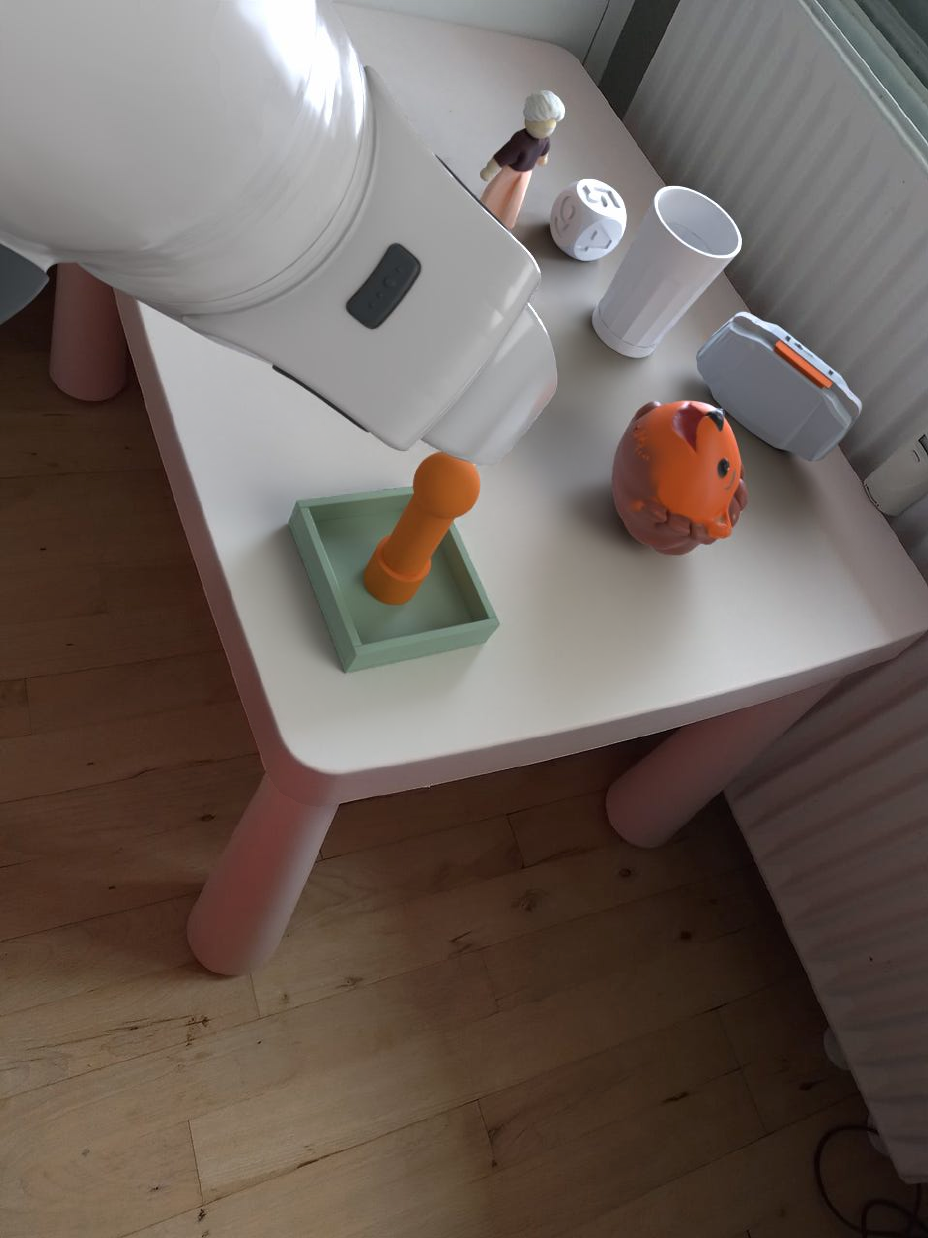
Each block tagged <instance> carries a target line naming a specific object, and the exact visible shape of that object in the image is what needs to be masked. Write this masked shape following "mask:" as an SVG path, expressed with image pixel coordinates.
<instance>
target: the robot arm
mask: <svg viewBox="0 0 928 1238" xmlns="http://www.w3.org/2000/svg"><path fill="white" fill-rule="evenodd" d="M57 264H78V266H79V267H81V268H82V269H83V270H84V271H86V272H88V273H89V274H91V275H92V276H93V277H95V278H96V279H97V280H100V281H101V282H103V283H105V284H107V285H108V286H110V287H112V288H114V289H116V290H118V291H120V292H121V293H123V294H125V295H127V296H128V297H131V298H132V299H135V300H137V301H138V302H140V303H142V304H144V305H145V306H147V307H149V308H151V309H153V310H155V312H158V313H160V314H162V315H164V316H166V317H168V318H169V319H171V320H173V321H175V322H177V323H179V324H181V325H183V326H185V327H187V328H188V329H190V330H191V331H192V332H194V333H197V334H198V335H199V336H201V337H203V338H205V339H207V340H209V341H211V342H213V343H214V344H217V345H219V346H222V347H224V348H227V349H230V350H232V351H235V352H237V353H240V354H243V355H245V356H248V357H250V358H253V359H256V360H258V361H261V362H263V363H266V364H268V365H270V366H271V368H272V370H274V371H275V372H276V373H278V374H279V375H281V376H284V377H285V378H287V379H289V380H291V381H292V382H294V383H295V384H297V385H298V386H300V387H301V388H303V389H305V390H306V391H308V392H309V393H310V394H312V395H313V396H315V397H316V398H317V399H319V400H320V401H322V402H323V403H324V404H326V405H327V406H329V407H330V408H332V410H334V411H336V413H338V414H340V415H341V416H342V417H344V418H345V419H346V420H348V421H349V422H350V423H352V424H353V425H354V426H356V427H357V428H359V429H360V430H362V431H364V432H365V433H367V434H368V433H370V434H371V435H372V436H373V437H374V438H376V439H378V441H380V442H381V443H383V444H384V445H385V446H388V447H389V448H391V449H393V450H396V451H398V452H399V451H400V452H407V451H410V450H411V448H413V447H414V446H415V445H416V444H417V443H418V442H419V441H421V442H424V443H425V444H427V445H429V446H430V447H432V448H434V449H435V450H436V451H438V452H443V453H445V454H447V455H450V456H452V457H454V458H457V459H460V460H463V461H466V462H469V463H472V464H473V465H477V466H481V467H493V466H495V465H497V464H498V463H500V462H501V461H502V460H503V459H504V458H505V457H506V456H507V455H508V454H509V453H510V451H511V450H513V448H514V447H515V446H516V445H517V443H518V442H519V441H520V440H521V438H523V436H524V435H525V434H526V433H527V431H529V429H530V428H531V426H532V425H533V424H534V422H535V421H537V419H538V417H539V416H540V415H541V413H542V412H543V411H544V409H545V408H546V406H547V405H548V404H549V402H550V401H551V400H552V398H553V396H554V395H555V393H556V391H557V390H556V389H557V386H558V371H557V362H556V357H555V352H554V349H553V348H554V347H553V345H552V342H551V341H552V340H551V339H550V335H549V333H548V331H547V329H546V327H545V325H544V323H543V322H542V320H541V318H540V317H539V315H538V314H537V312H536V311H535V310H534V308H533V306H531V304H530V301H531V300H532V298H533V296H535V293H536V292H537V290H538V287H539V286H540V285H541V282H542V274H541V270H540V267H539V265H538V263H537V261H536V260H535V258H534V257H533V255H532V253H531V252H530V251H529V250H528V249H527V248H526V247H525V246H524V245H523V244H522V243H521V242H520V241H518V239H517V238H516V237H515V236H513V233H511V231H510V230H508V229H507V227H506V226H505V225H504V224H503V223H502V222H501V221H500V220H499V219H498V218H497V217H496V216H495V215H494V214H493V213H492V212H491V211H490V210H489V209H488V208H487V207H486V206H485V205H484V204H483V203H482V202H481V201H480V198H478V197H477V196H476V195H475V194H474V193H473V191H471V190H470V188H468V187H467V185H466V184H465V183H464V182H463V181H462V180H461V179H460V178H459V177H458V176H457V175H456V174H455V173H454V171H453V170H452V169H451V168H450V167H449V166H448V165H447V164H446V163H445V162H444V161H443V160H442V159H441V158H440V157H439V156H438V155H437V154H436V153H434V152H433V151H432V149H431V148H430V147H429V146H428V145H427V144H426V142H425V141H424V139H423V138H422V137H421V135H420V134H419V132H417V130H416V128H415V127H414V126H413V124H412V123H411V122H410V120H409V119H408V117H407V115H406V114H405V112H404V110H403V109H402V108H401V106H400V105H399V103H398V102H397V99H396V98H395V97H394V95H393V94H392V92H391V91H390V89H389V87H388V86H387V84H386V83H385V80H384V79H383V78H382V76H381V75H380V74H379V72H378V71H377V70H376V69H375V68H373V67H372V66H370V65H365V66H364V64H363V62H362V59H361V57H360V55H359V52H358V51H357V48H356V46H355V43H354V41H353V38H352V37H351V34H350V33H349V31H348V28H347V26H346V24H345V22H344V20H343V17H342V15H341V13H340V12H339V10H338V8H337V6H336V4H335V3H334V1H333V0H0V326H1V325H2V324H4V323H5V322H7V321H8V320H10V319H12V317H14V316H15V315H16V314H18V313H19V312H20V311H22V310H23V309H24V308H26V307H27V306H28V305H29V304H30V303H31V302H32V301H33V300H34V299H35V298H36V297H37V296H38V295H39V294H40V293H41V291H42V290H43V289H44V288H45V286H46V285H47V284H48V283H49V281H50V277H49V276H48V274H47V271H48V270H49V268H50V267H52V266H54V265H57Z"/></svg>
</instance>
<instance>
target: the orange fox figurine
mask: <svg viewBox="0 0 928 1238" xmlns="http://www.w3.org/2000/svg"><path fill="white" fill-rule="evenodd" d="M725 413H726V411H725V410H724V409H723V408H722V407H721V408H720V407H719V408H717V407H714V406H713V405H711V404H709V403H707V402H706V403H705V402H702V401H695V400H680V401H679V400H678V401H673V402H670V403H664V404H661V402H659V401H657V400H654V401H650V402H647V403H645V404H644V405H642V406H641V407H640V408H639V409H638V410H637V411H636V412H635V414H634V415H633V417H632V419H630V422H629V423H628V425H627V427H626V429H625V431H624V432H623V434H622V436H621V438H620V440H619V442H618V444H617V447H616V449H615V453H614V456H613V457H614V458H613V461H612V462H613V463H612V471H611V491H612V495H613V499H614V505H615V509H616V513H617V514H618V516H619V518H620V519H621V520H622V521H623V524H624V526H625V528H626V530H627V532H628V533H629V535H631V537H632V538H634V539H635V540H636V541H637V542H639V543H641V544H642V545H644V546H646V547H650V548H651V549H652V550H654V551H655V552H657V553H659V554H661V555H664V556H671V557H672V556H673V557H677V556H678V557H679V556H683V555H687V554H689V553H690V552H692V551H693V550H695V549H696V548H697V547H698V546H699V545H703V546H710V545H713V544H714V543H715V542H716V541H718V540H720V539H727V538H728V537H730V535H731V534H732V529H734V527H735V526H736V525H737V523H738V521H739V519H740V517H741V512H743V511H744V510H745V508H746V507H747V505H748V503H749V502H748V501H749V493H748V489H747V486H746V483H745V482H744V478H745V476H746V475H745V474H746V473H745V467H744V464H743V462H742V460H741V455H740V449H739V446H738V443H737V440H736V437H735V434H734V432H733V430H732V427H731V425H730V423H729V422H728V421H727V419H726V417H725V415H726V414H725Z"/></svg>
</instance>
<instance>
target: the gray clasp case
mask: <svg viewBox="0 0 928 1238" xmlns="http://www.w3.org/2000/svg"><path fill="white" fill-rule="evenodd" d="M695 360H696V368H697V371H698V373H699V374H700V376H701V377H702V379H703V381H704V382H705V384H707V385H708V388H709V390H710V391H711V395H712V398H713V399H714V400H715V402H716V403H717V404H718V405H719V406H720V407H721V409H723V410H724V411H725V413H727V414H728V415H730V416H731V417H732V418H733V419H734V420H735V421H737V422H738V423H739V424H740V425H741V426H743V427H744V428H745V429H746V430H748V431H749V432H750V433H752V434H753V435H755V436H756V437H758V439H761V440H762V441H763V442H765V443H767V444H768V445H770V446H772V447H773V448H775V449H779V450H784V451H787V452H790V453H792V454H794V455H796V456H798V457H800V458H802V459H803V460H805V461H807V462H812V463H813V462H819V461H822V460H824V459H825V458H826V457H827V456H828V455H830V454H831V452H833V451H834V450H835V448H836V447H838V445H839V444H840V443H841V442H842V440H843V439H844V438H845V437H846V435H848V432H849V431H850V430H851V428H852V427H853V426H854V424H855V423H856V421H857V419H858V418H859V416H860V414H861V412H862V409H863V403H862V402H861V400H860V399H859V398H858V397H857V396H856V395H855V393H854V392H852V391H851V390H850V389H849V386H848V384H847V383H846V381H845V380H844V378H843V377H842V375H840V373H838V371H836V370H834V369H833V368H832V367H831V366H829V365H828V364H827V363H826V362H824V361H823V360H822V359H821V358H819V356H817V355H816V354H815V353H813V352H812V351H810V350H809V349H808V347H806V346H805V345H803V344H802V343H801V342H799V341H798V340H797V339H796V338H795V337H793V336H792V335H791V334H790V333H789V332H787V331H786V330H785V329H784V328H782V327H780V326H779V325H778V324H775V323H771V322H769V321H768V322H767V321H764V320H762V319H761V318H759V317H757V316H755V315H753V314H751V313H750V312H747V311H740V312H737V313H735V314H734V317H731V318H730V319H729V320H728V321H726V323H724V324H723V325H722V326H721V327H720V328H719V329H718V330H717V331H716V332H714V334H712V336H711V337H710V338H709V339H708V340H707V341H706V342H705V343H704V344H703V346H702V347H700V349H699V350H698V351H697V353H696V356H695Z"/></svg>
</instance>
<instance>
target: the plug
mask: <svg viewBox="0 0 928 1238" xmlns="http://www.w3.org/2000/svg"><path fill="white" fill-rule="evenodd" d="M412 486H413V492H414V494H413V496H412V497H411V499H410V501H409V503H408V505H407V506H406V508H405V510H404V512H403V514H402V515H401V517H400V519H399V521H398V523H397V525H396V526H395V528H394V530H393V532H392V534H391V535H388V536H386V537H384V538H383V539H382V540H381V541H380V542H379V544H378V546H377V548H376V549H375V551H374V553H373V555H372V557H371V559H370V561H369V562H368V564H367V566H366V568H365V570H364V576H363V578H364V584H365V586H366V588H367V590H368V591H369V593H370V594H371V595H372V596H373V597H374V598H375V599H377V600H378V601H380V602H382V603H385V604H389V605H401V604H404V603H406V602H408V601H409V600H410V599H411V598H412V597H413V596H414V594H415V593H416V591H417V590H418V588H419V587H420V585H421V584H422V582H423V580H424V579H425V577H426V576H427V574H428V573H429V571H430V567H431V556H432V554H433V553H434V551H435V550H436V548H437V546H438V545H439V543H440V542H441V540H442V539H443V537H444V535H445V534H446V532H447V531H448V529H449V527H450V526H451V524H452V523H453V521H454V522H455V520H456V519H457V518H460V517H463V516H464V515H465V514H467V513H468V512H470V510H471V509H472V508H473V507H474V506H475V504H476V503H477V501H478V499H479V496H480V494H481V493H480V492H481V479H480V475H479V472H478V469H477V468H476V466H475V464H472V463H469V462H466V461H463V460H460V459H457V458H454V457H452V456H450V455H447V454H445V453H443V452H441V451H438V452H435V453H432V454H430V455H429V456H426V457H425V458H424V459H423V460H422V461H421V462H420V463H419V465H418V466H417V468H416V470H415V473H414V475H413V479H412Z"/></svg>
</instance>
